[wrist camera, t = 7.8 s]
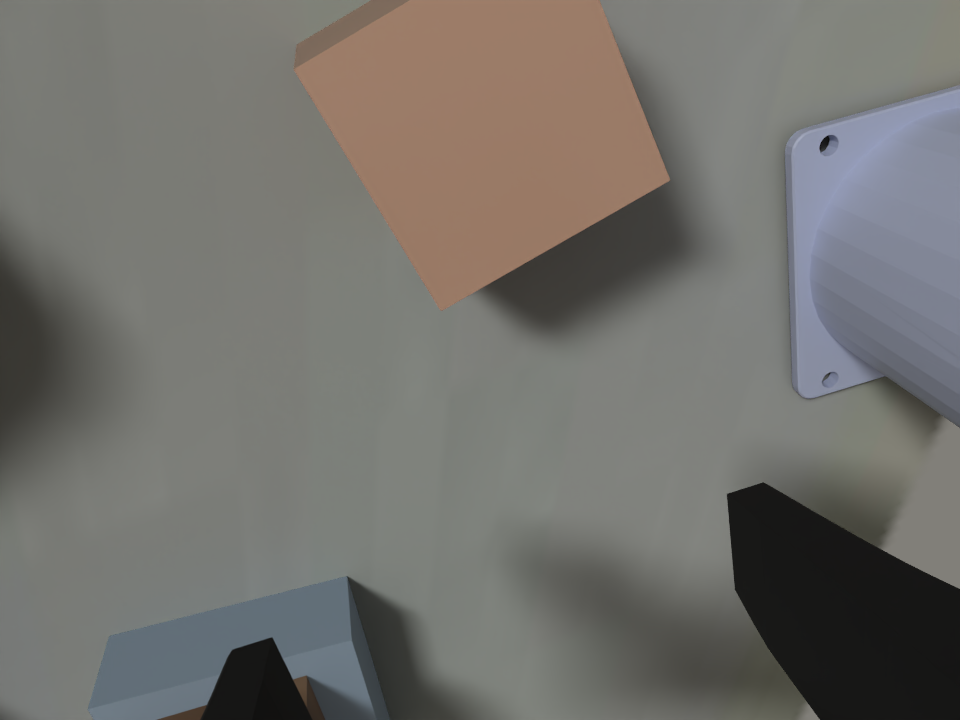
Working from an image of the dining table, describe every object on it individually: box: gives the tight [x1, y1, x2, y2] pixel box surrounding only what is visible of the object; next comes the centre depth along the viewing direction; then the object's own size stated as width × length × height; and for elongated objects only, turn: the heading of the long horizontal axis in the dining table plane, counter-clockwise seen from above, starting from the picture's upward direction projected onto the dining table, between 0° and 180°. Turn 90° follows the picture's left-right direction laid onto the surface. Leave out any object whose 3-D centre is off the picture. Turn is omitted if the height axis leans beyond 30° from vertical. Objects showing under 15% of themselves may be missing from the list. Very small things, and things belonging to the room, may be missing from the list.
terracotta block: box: [294, 0, 670, 311], centre depth 16 cm, size 5×5×5 cm
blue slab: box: [88, 576, 390, 720], centre depth 24 cm, size 7×7×3 cm
